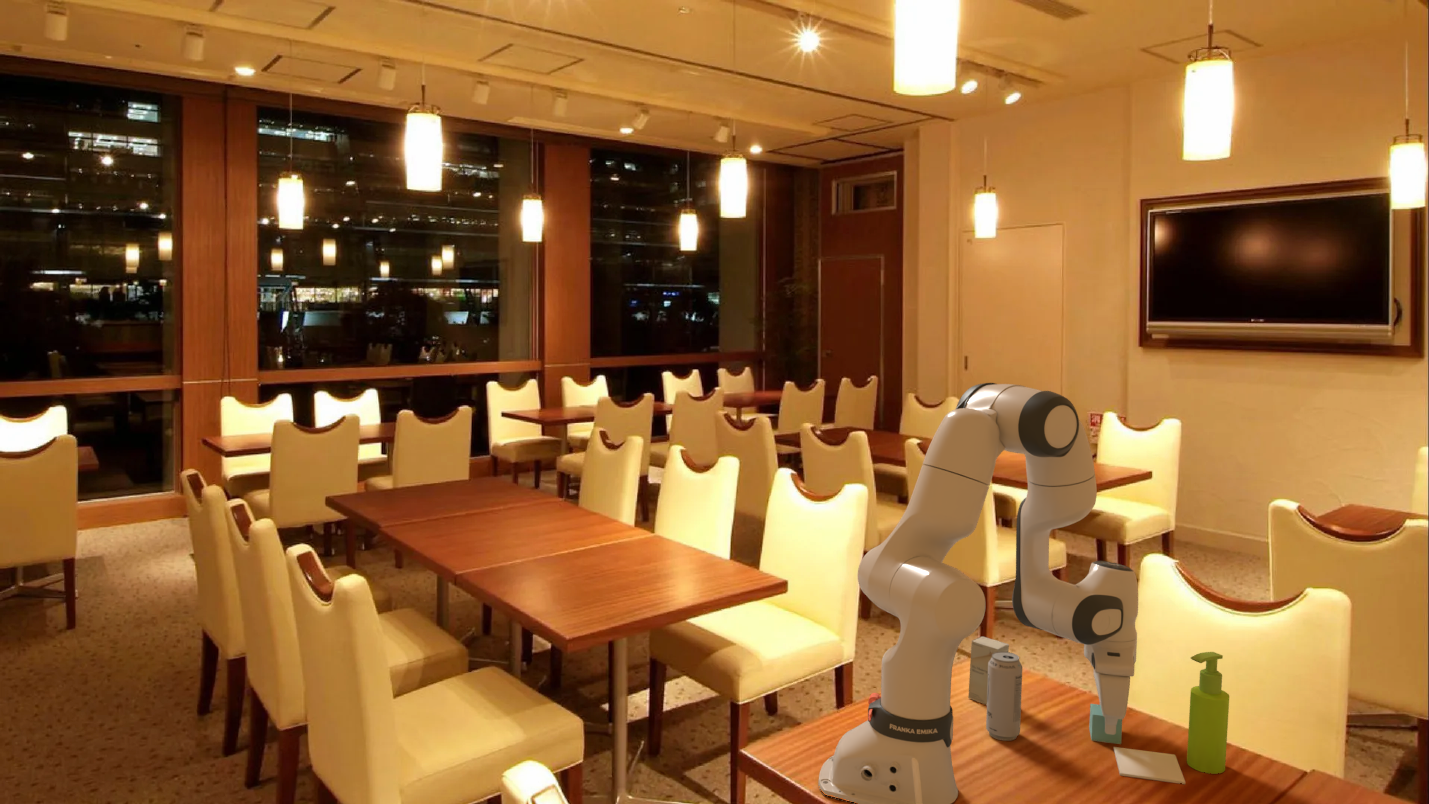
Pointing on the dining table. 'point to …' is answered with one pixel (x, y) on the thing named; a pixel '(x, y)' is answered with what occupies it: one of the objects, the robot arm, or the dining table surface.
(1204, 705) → the soap dispenser
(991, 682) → the energy drink can
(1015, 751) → the dining table surface
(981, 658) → the skincare box
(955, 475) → the robot arm
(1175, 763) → the coaster
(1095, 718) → the block
